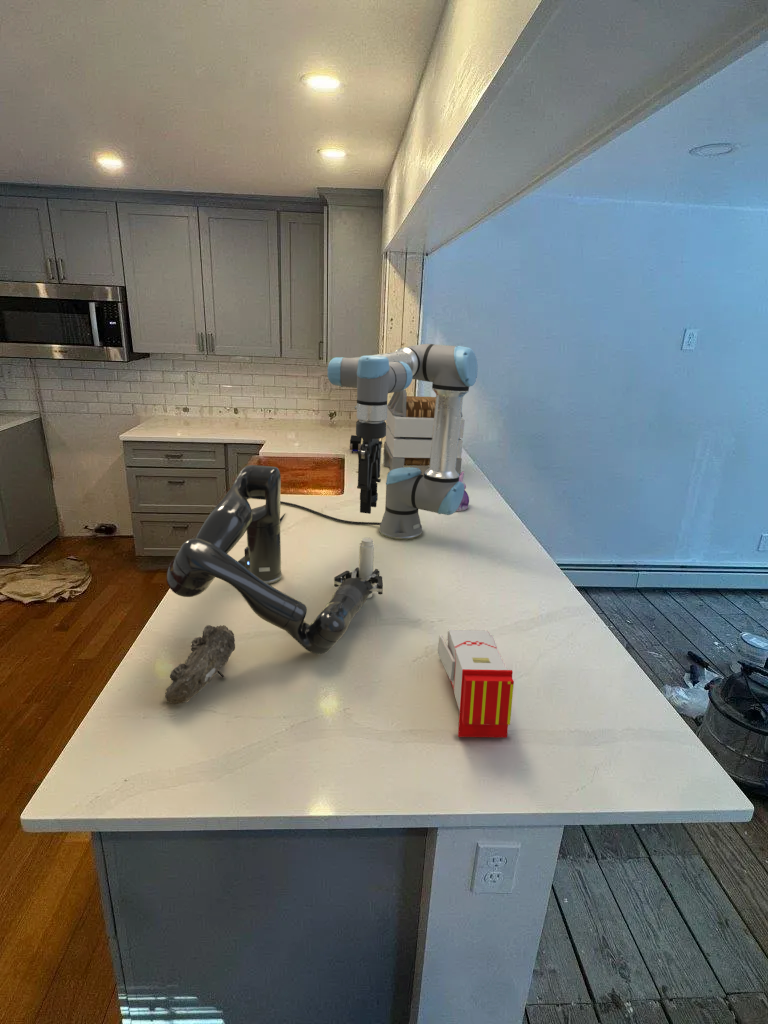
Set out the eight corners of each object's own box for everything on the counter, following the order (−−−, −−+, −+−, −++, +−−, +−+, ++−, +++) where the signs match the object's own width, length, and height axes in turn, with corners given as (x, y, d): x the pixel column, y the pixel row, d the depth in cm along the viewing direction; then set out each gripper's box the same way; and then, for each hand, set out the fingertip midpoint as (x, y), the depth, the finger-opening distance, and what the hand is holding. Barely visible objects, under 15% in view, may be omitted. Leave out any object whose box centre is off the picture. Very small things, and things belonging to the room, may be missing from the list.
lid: (356, 498, 147) (356, 492, 147) (369, 495, 150) (369, 489, 150) (367, 503, 144) (367, 497, 143) (381, 500, 147) (381, 494, 146)
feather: (292, 507, 224) (294, 503, 223) (275, 531, 197) (278, 527, 197) (288, 505, 224) (291, 501, 223) (271, 528, 197) (273, 524, 197)
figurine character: (361, 456, 305) (361, 447, 319) (361, 443, 302) (362, 434, 315) (348, 456, 305) (350, 446, 318) (349, 442, 302) (350, 433, 315)
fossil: (189, 627, 129) (235, 597, 124) (218, 656, 132) (264, 627, 127) (143, 698, 109) (196, 665, 104) (179, 729, 112) (232, 699, 107)
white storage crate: (382, 463, 289) (386, 382, 275) (445, 464, 293) (451, 384, 279) (390, 482, 257) (394, 392, 243) (460, 483, 261) (468, 394, 247)
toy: (488, 613, 130) (523, 677, 101) (484, 667, 133) (517, 744, 104) (435, 612, 130) (455, 676, 101) (432, 666, 133) (451, 743, 103)
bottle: (375, 594, 157) (377, 539, 151) (366, 600, 154) (369, 543, 148) (363, 590, 159) (365, 535, 153) (354, 595, 156) (356, 539, 150)
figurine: (455, 513, 222) (459, 476, 217) (441, 505, 231) (444, 469, 226) (475, 510, 226) (479, 474, 221) (460, 502, 235) (464, 467, 230)
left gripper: (321, 607, 144) (344, 578, 160) (375, 616, 141) (393, 586, 156) (322, 580, 142) (345, 554, 157) (376, 590, 138) (394, 562, 154)
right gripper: (367, 413, 149) (364, 497, 157) (345, 425, 133) (343, 518, 141) (394, 416, 147) (390, 501, 155) (376, 428, 131) (372, 522, 139)
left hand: (368, 570), depth 157 cm, fingers closed on bottle, 4 cm apart
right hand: (368, 509), depth 148 cm, fingers closed on lid, 5 cm apart
